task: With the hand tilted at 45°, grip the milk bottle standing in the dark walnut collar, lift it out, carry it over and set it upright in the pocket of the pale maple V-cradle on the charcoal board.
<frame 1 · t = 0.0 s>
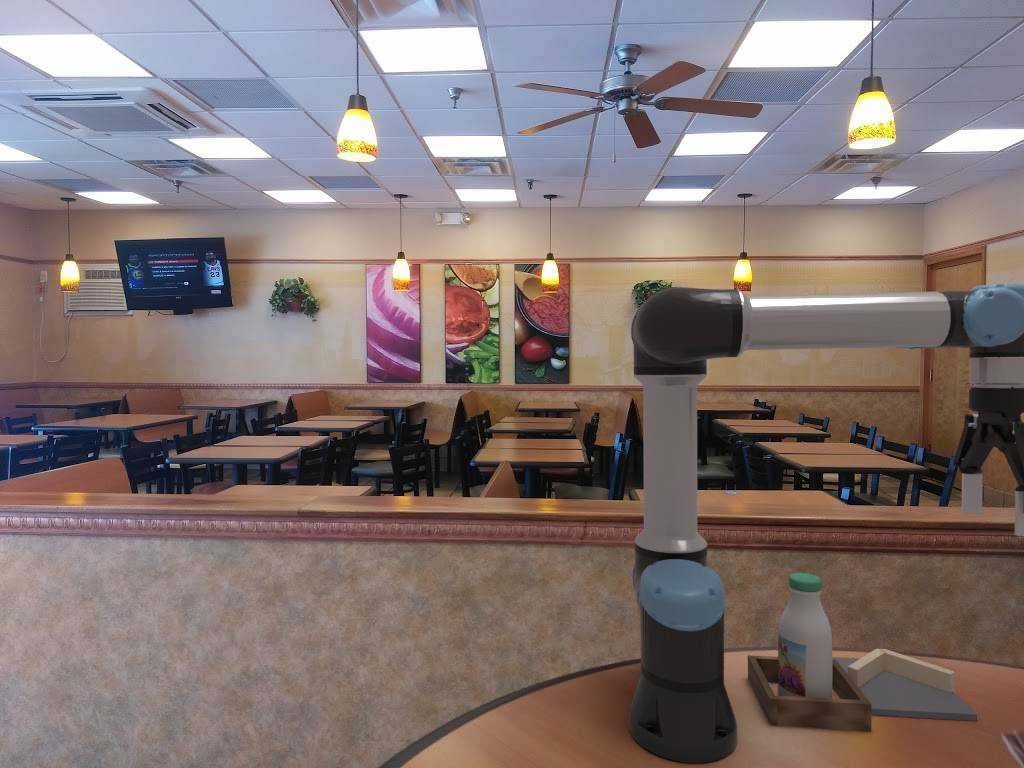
hand: (997, 524, 99), 28 cm above the table, tool pointing down, fingers open, 13 cm apart
milk bottle: (804, 704, 100), resting in walnut collar
walnut collar: (804, 703, 100), on the table
v cradle: (896, 689, 104), on the table
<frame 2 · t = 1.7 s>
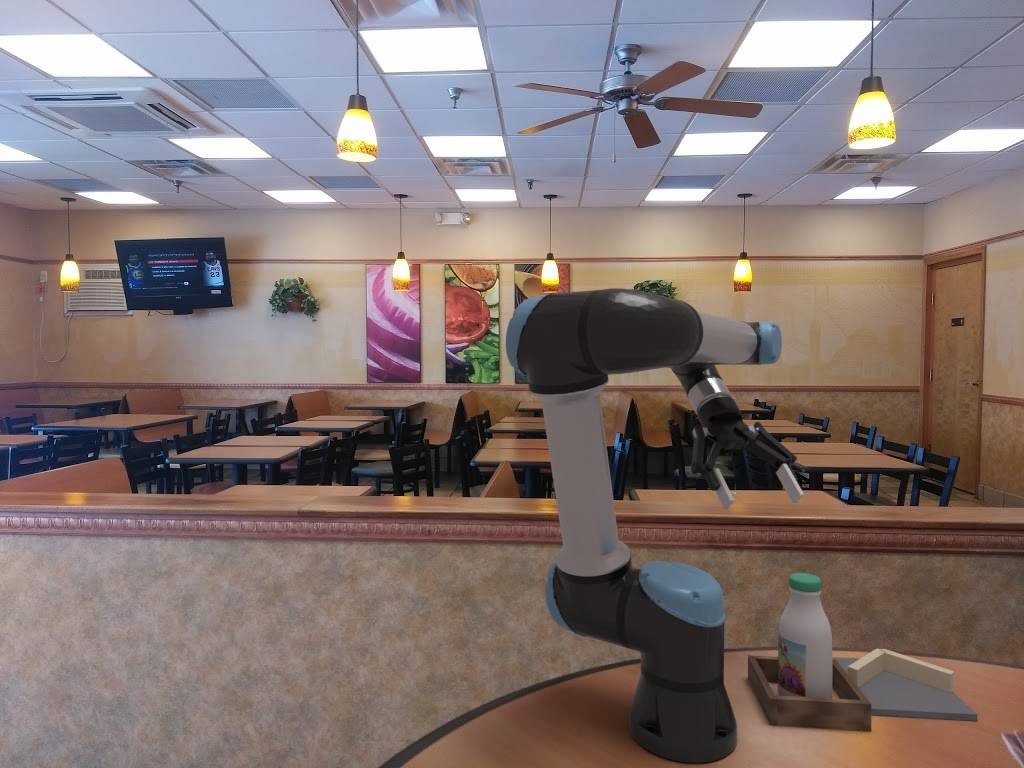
hand: (764, 502, 109), 29 cm above the table, tool tilted 45°, fingers open, 13 cm apart
nothing on the table moved.
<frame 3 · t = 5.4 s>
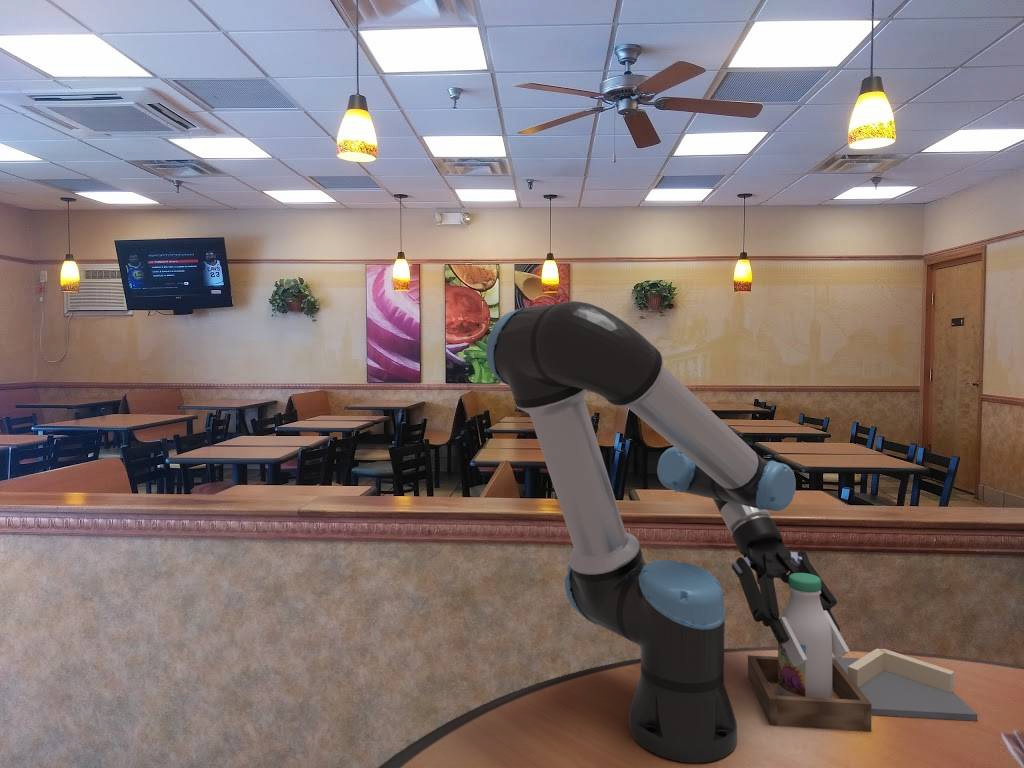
hand: (821, 658, 97), 9 cm above the table, tool tilted 45°, fingers closed on milk bottle, 7 cm apart
milk bottle: (804, 704, 100), resting in walnut collar, touching gripper
when the fingers open (11 cm above the table, at t = 12.0 s): milk bottle drops 1 cm, resting on v cradle.
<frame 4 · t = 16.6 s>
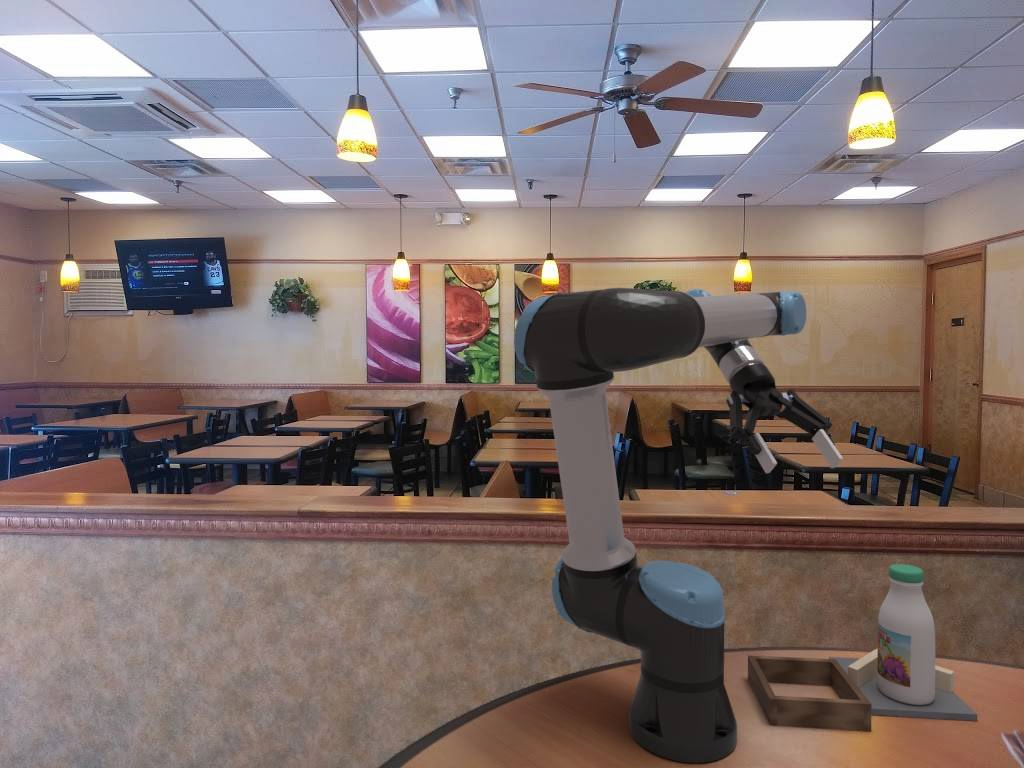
hand: (805, 466, 109), 36 cm above the table, tool tilted 45°, fingers open, 13 cm apart
milk bottle: (905, 694, 101), point 1 cm above the table, touching v cradle
at the end: milk bottle 0.1 cm from the target spot on the v cradle, point 0.8 cm above the v cradle's base; milk bottle tilted 0°; the gripper is holding nothing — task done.
